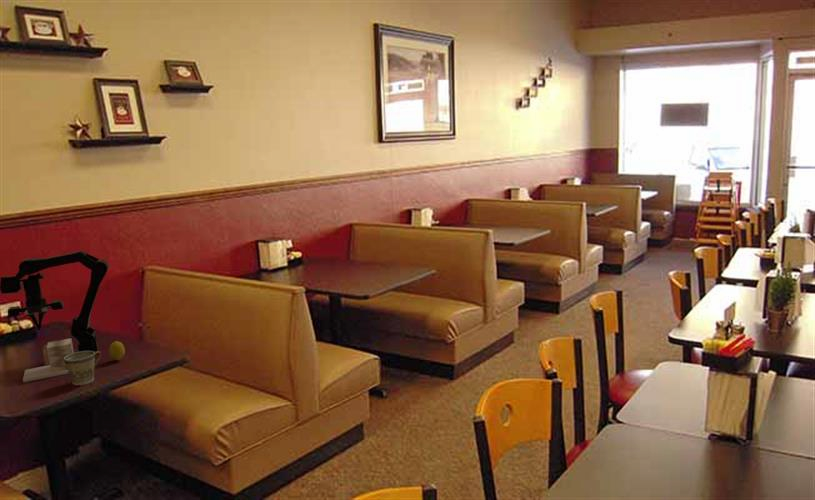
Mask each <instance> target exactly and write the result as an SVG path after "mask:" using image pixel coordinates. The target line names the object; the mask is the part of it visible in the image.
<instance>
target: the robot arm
mask: <svg viewBox="0 0 815 500" xmlns="http://www.w3.org/2000/svg"><path fill="white" fill-rule="evenodd" d="M74 263H79V264H81V265H82V266H84V267H86V268H87V269H88V270H90V281H89V285H88V288H87V291H86V295H85V297H84V300H83V304H82V306H81V309H80V313H79V315H78V316H77V315H74V317H73V319H72V323H71V325H70V327H69V330H70V334H71V336H72V337H74V338H75V339H77V341H78V343H77V349H78V350H77V352H81V351H94V352H95V351H99V349H98V343H97V337H96V336H95V335H96V329H94V328H92V327H91V326H90V321H91V313H92V312H93V311H92V310H93V308H94V307H93V306H94V303H95V301H96V298H97V296H98V293H99V289H100V286H101V283H102V281H103V280H104V278H105V276H106V275H107V272H108V270H109V268H110V265H109V262H108V261H107V260H105V259H102V258H101V259H99V258H97V257H95V256H93V255H91V254H89V253H87V252H86V251H84V250H78V251H74V252H70V253H65V254H60V255H54V256H49V257H28V258H26V259H24V260H22V261H21V262H20V264H19V265H18V271H17V273H16V274H15V275H11V276H10V275H9V276H8V275H7V276H0V292H1V295H8V294H9V295H11V294H17V293H21V290H23V292H24V297H25V307H21V306H20V305H15V306H10V307H8V309H7V311H6V312H7V317H8V318H12V317H18V316H19V315H20V314H22V313H24V314H25V317H28V318H30V319H31V321H33V323H34V325H35V326H36V328H37V330H41V329H42V323H43V318H44V315H45V314H48V309H51V310H53V311H57V310H63V309H64V303H63V300H62V299H56V300H55V299H54V300H51V301H50V303H47V299H46V297H45V298H43V293H42V292H43V291H42V287H41V279H44V278H45V277H46V276H45V274H43V273H42V272H41V271H44V270H46V269H49V268H54V267H60V266H64V265H70V264H74ZM36 273H37V274H36ZM26 276H27V277H26ZM36 313H37V314H36ZM37 315H38V317H37ZM98 354H99V352H98V353H96V354H95V355H98Z"/></svg>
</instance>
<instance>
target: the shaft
mask: <svg viewBox="0 0 815 500" xmlns="http://www.w3.org/2000/svg"><path fill="white" fill-rule="evenodd" d="M72 350H73V351H74V346H73V347H72ZM42 354H43V360H44V366H48V365H50V363H49V358H48V352H47V344H44V345H42Z"/></svg>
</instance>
